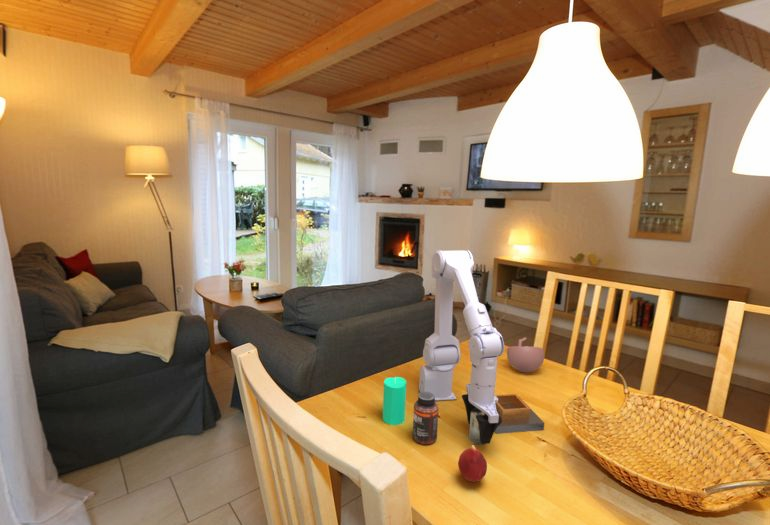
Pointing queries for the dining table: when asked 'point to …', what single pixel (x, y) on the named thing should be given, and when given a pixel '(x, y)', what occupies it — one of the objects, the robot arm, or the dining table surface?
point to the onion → (472, 464)
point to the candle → (394, 400)
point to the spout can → (475, 427)
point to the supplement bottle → (425, 418)
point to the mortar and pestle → (525, 357)
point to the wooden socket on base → (516, 415)
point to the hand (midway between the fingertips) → (478, 432)
